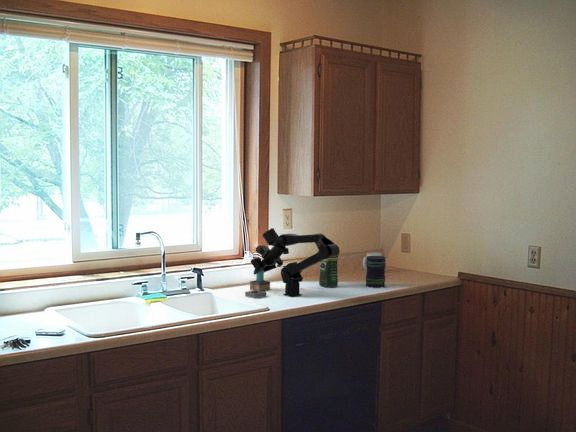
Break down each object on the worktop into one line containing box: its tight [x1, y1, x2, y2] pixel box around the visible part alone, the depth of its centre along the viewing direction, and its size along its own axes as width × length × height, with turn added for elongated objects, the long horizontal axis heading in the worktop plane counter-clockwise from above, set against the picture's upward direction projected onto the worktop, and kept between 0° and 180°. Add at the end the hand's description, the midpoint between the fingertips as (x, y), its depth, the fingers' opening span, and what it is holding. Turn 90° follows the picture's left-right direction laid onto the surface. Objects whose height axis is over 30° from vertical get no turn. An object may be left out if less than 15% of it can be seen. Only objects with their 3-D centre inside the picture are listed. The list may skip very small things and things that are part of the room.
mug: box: [362, 252, 382, 272], centre depth 374 cm, size 12×8×11 cm
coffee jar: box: [318, 255, 339, 288], centre depth 329 cm, size 10×8×19 cm
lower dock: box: [244, 290, 267, 299], centre depth 302 cm, size 7×7×2 cm
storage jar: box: [365, 255, 387, 289], centre depth 331 cm, size 10×10×15 cm
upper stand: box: [249, 279, 271, 292], centre depth 318 cm, size 7×7×4 cm
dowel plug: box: [255, 271, 265, 283], centre depth 317 cm, size 4×4×10 cm
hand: (257, 273), depth 318 cm, fingers open, 5 cm apart
